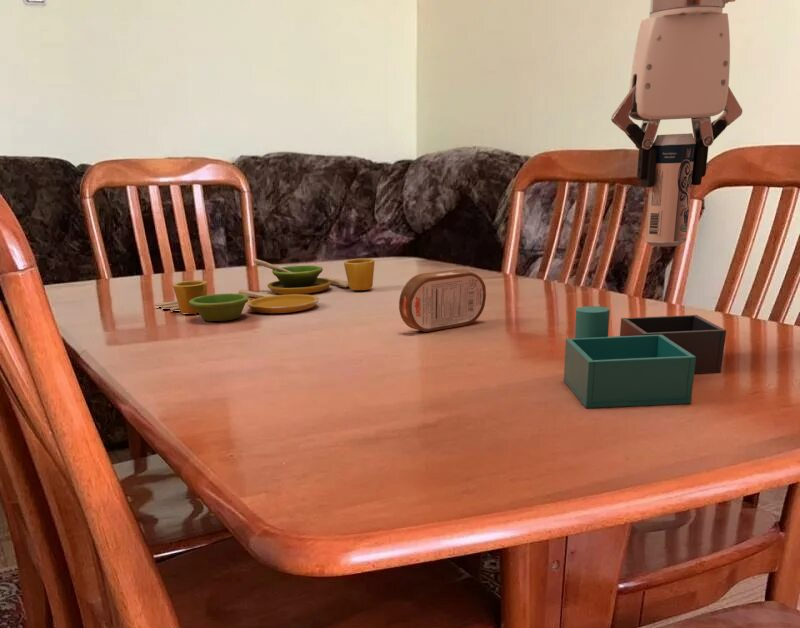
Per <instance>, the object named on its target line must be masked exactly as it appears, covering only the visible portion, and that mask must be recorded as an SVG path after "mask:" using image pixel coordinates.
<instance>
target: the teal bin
mask: <svg viewBox="0 0 800 628" xmlns="http://www.w3.org/2000/svg"><path fill="white" fill-rule="evenodd" d="M564 347H565V348H564V368H563V369H564V370H563V382H564V383H565V384H566V385H567V387H568V388H569V389H570V390H571V391H572V393H573V395H575V396H576V398H577V399H578V400H579V402H580V403H581V404H582V405H583V407H584V408H585V409H600V408H621V407H623V408H624V407H641V406H642V407H645V406H646V407H647V406H664V405H665V406H667V405H669V406H670V405H688V404H691V403H692V395H693V387H694V378H695V374H694V371H695V362H696V357H695V356H694V355H692V354H691V353H689V352H688V351H686V350H685V349H683V348H682V347H680V346H679V345H677V344H676V343H674V342H673V341H671V340H669V339H668V338H666V337H665V336H663V335H662V334H660V335H637V336H620V335H618V336H617V335H616V336H608V337H592V338H575V337H573V338H572V337H571V338H565V345H564Z"/></svg>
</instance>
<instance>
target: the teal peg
mask: <svg viewBox="0 0 800 628" xmlns="http://www.w3.org/2000/svg"><path fill="white" fill-rule="evenodd" d="M610 312H611V309H610V308H609V307H606V306H599V305H597V306H595V305H591V306H590V305H588V306H580V307H577V308H576V309H575V322H574V323H575V325H574V338H592V337H609V326H610V325H609V324H610V314H611V313H610Z"/></svg>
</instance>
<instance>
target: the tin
mask: <svg viewBox="0 0 800 628" xmlns="http://www.w3.org/2000/svg"><path fill="white" fill-rule="evenodd" d="M486 298H487V288H486V284H485V281H484V280H483V279H482V277H481V276H479V275H478V274H477V273H475V272H473V271H469V270H468V269H464V268H457V269H450V270H439V271H431V272H424V273H422V272H421V273H418V274H415V275H414V276H412V277H411V278H410V279H409V280H408V281H406V283H405V285H404V286H403V288H402V290H401V292H400V296H399V300H398V310H399V314H400V318H401V319H402V321H403V322H404V324H405V325H406V326H407V327H409V328H411V329H413V330H416V331H420V332H426V333H427V332H434V331H440V330H445V329H452V328H458V327H465V326H468V325H471V324H473V323H475V321H477V320H478V318H479V317H480V316H481V315H482V313H483V311H484V309H485V306H486V305H485V304H486V300H487V299H486Z"/></svg>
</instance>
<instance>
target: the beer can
mask: <svg viewBox="0 0 800 628" xmlns="http://www.w3.org/2000/svg"><path fill="white" fill-rule="evenodd" d="M653 143H654V149H656V151H657V156H656V169H655V181H654V186H652V187H648V197H647V198H648V199H647V209H646V210H647V211H646V222H645V226H646V227H645V234H644V236H645V237H644V242H645V243H647V244H648V245H649V246H651V247H660V248H662V247H663V248H665V247H678V246H681V245H682V244H683V243H685V242H686V241H687V236H688V235H687V233H688V225H689V224H688V223H689V214H690V204H691V194H692V185H691V184H692V174H693V164H694V154H695V144H696V142H695V140H694V134H693V132H692V133H691V132H689V133H673V134H656V136H655V139H654V142H653Z"/></svg>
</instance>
